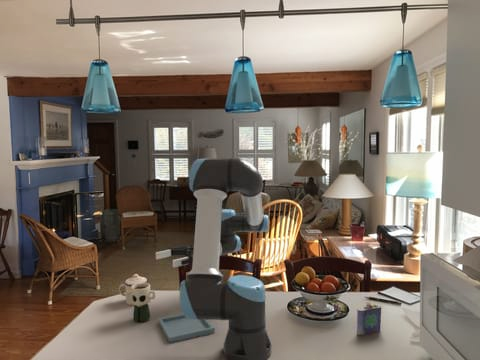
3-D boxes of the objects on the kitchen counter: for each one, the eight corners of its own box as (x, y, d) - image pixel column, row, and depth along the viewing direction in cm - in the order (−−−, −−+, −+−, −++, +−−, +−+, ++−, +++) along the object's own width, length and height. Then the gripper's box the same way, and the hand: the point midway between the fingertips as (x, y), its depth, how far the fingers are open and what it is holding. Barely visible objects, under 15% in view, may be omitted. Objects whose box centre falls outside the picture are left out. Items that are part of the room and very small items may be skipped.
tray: (214, 332, 136) (214, 327, 136) (169, 343, 129) (169, 337, 129) (199, 314, 151) (199, 310, 150) (158, 323, 144) (158, 318, 144)
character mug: (124, 323, 144) (122, 289, 143) (130, 315, 151) (129, 282, 150) (153, 324, 143) (152, 289, 142) (158, 315, 151) (157, 282, 149)
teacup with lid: (150, 297, 169) (149, 271, 168) (143, 306, 160) (142, 278, 159) (123, 297, 170) (122, 270, 169) (115, 305, 161) (114, 278, 160)
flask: (359, 336, 132) (360, 305, 131) (354, 332, 135) (354, 302, 134) (382, 332, 135) (383, 302, 134) (376, 328, 138) (377, 299, 137)
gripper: (226, 265, 157) (181, 277, 144) (193, 251, 176) (150, 261, 163) (226, 246, 156) (180, 257, 143) (192, 235, 176) (149, 244, 162)
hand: (164, 259), depth 153 cm, fingers open, 13 cm apart
